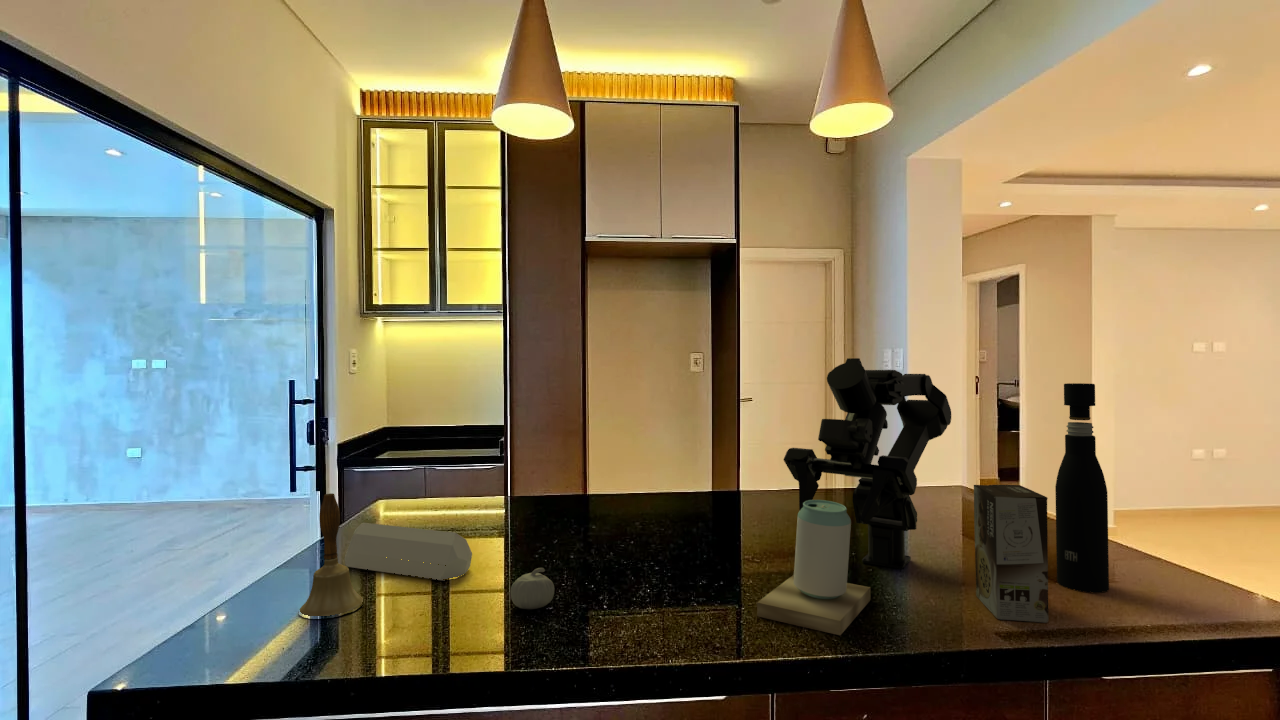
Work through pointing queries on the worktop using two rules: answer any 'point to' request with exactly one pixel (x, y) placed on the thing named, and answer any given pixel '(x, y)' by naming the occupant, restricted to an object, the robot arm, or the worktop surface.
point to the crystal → (408, 551)
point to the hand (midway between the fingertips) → (831, 517)
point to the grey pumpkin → (532, 590)
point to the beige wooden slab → (813, 607)
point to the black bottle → (1081, 501)
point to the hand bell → (331, 571)
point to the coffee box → (1011, 552)
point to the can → (822, 549)
